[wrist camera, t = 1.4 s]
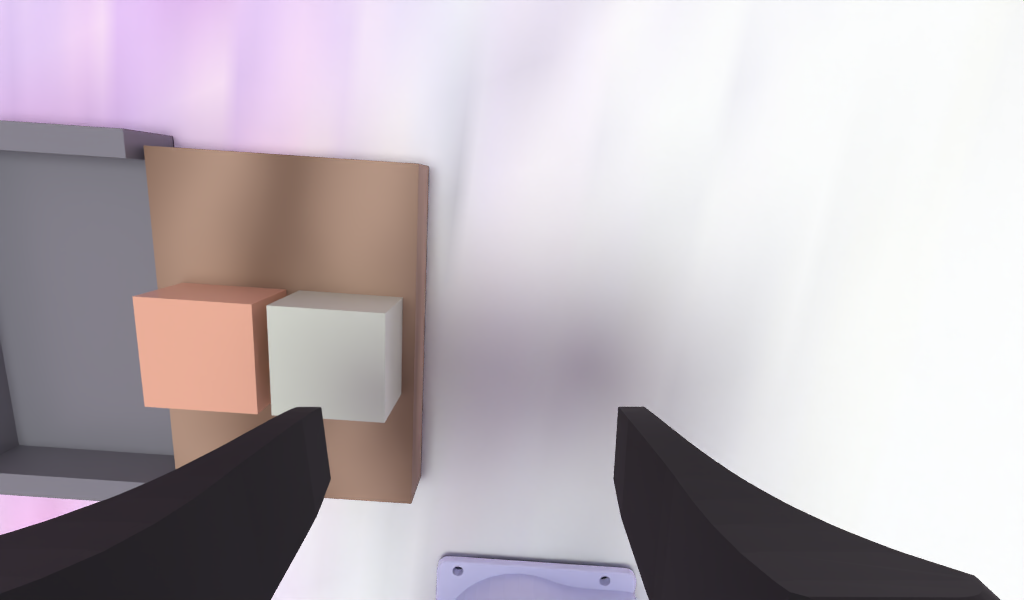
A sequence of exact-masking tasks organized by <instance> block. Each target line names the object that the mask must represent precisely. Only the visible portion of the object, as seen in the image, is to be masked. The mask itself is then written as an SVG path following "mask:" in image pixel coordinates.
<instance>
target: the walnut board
mask: <svg viewBox="0 0 1024 600" xmlns="http://www.w3.org/2000/svg"><path fill="white" fill-rule="evenodd" d="M143 146H144V156H145V166H146V176H147V186H148V196H149V206H150V216H151V226H152V237H153V247H154V257H155V267H156V277H157V287H158V289H161V288H165V287H168V286H172V285H176V284H179V283H197V284H212V285H227V286H242V287H257V288H272V289H286V293H287V296H288V295H290V294H292V293H295V292H297V291H299V290H301V291H316V292H331V293H346V294H361V295H376V296H391V297H403V321H402V385H401V395H400V397H399V399H398V401H397V402H396V404H395V406H394V407H393V409H392V411H391V413H390V414H389V416H388V418H387V420H386V421H385V423H380V422H365V421H350V420H335V419H323V423H324V430H325V438H326V445H327V453H328V460H329V468H330V475H331V480H330V483H329V486H328V488H327V491H326V494H325V496H324V498H334V499H349V500H364V501H379V502H394V503H409V504H411V503H412V500H413V497H414V494H415V492H416V489H417V486H418V483H419V480H420V477H421V443H422V405H423V367H424V329H425V291H426V253H427V215H428V177H429V166H425V165H421V164H413V163H398V162H384V161H369V160H354V159H339V158H324V157H309V156H294V155H279V154H264V153H249V152H234V151H219V150H205V149H190V148H175V147H160V146H145V145H143ZM274 417H276V416H275V415H272V412H271V403H270V404H269V405H268V406H267V407H266V408H264V409H263V410H262V411H261V412H260V413H259V414H245V413H230V412H216V411H201V410H186V409H171V408H170V419H171V429H172V439H173V449H174V459H175V469H178V468H179V467H181V466H183V465H185V464H187V463H189V462H191V461H193V460H195V459H197V458H199V457H201V456H203V455H205V454H207V453H209V452H211V451H213V450H215V449H217V448H219V447H221V446H223V445H224V444H226V443H228V442H230V441H232V440H234V439H235V438H237V437H239V436H241V435H243V434H244V433H246V432H248V431H250V430H252V429H254V428H255V427H257V426H259V425H261V424H263V423H265V422H266V421H268V420H270V419H272V418H274Z"/></svg>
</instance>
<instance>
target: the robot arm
mask: <svg viewBox="0 0 1024 600" xmlns="http://www.w3.org/2000/svg"><path fill="white" fill-rule="evenodd" d="M330 480H331V475H330V468H329V460H328V453H327V445H326V438H325V430H324V423H323V416H322V408H321V407H295V408H293V409H290V410H288V411H286V412H284V413H282V414H280V415H278V416H276V417H274V418H272V419H270V420H268V421H266V422H265V423H263V424H261V425H259V426H257V427H255V428H254V429H252V430H250V431H248V432H246V433H244V434H243V435H241V436H239V437H237V438H235V439H234V440H232V441H230V442H228V443H226V444H224V445H223V446H221V447H219V448H217V449H215V450H213V451H211V452H209V453H207V454H205V455H203V456H201V457H199V458H197V459H195V460H193V461H191V462H189V463H187V464H185V465H183V466H181V467H179V468H178V469H175V470H173V471H171V472H169V473H167V474H165V475H163V476H161V477H158V478H156V479H154V480H152V481H149V482H147V483H145V484H142V485H140V486H138V487H135V488H133V489H131V490H128V491H126V492H123V493H121V494H119V495H116V496H114V497H111V498H109V499H106V500H103V501H100V502H98V503H95V504H92V505H89V506H86V507H84V508H81V509H78V510H75V511H73V512H70V513H67V514H64V515H62V516H59V517H56V518H53V519H50V520H47V521H44V522H41V523H38V524H35V525H32V526H29V527H26V528H22V529H19V530H16V531H13V532H10V533H6V534H3V535H0V600H271V598H272V597H273V595H274V593H275V591H276V589H277V588H278V586H279V584H280V582H281V580H282V579H283V577H284V575H285V573H286V571H287V570H288V568H289V566H290V564H291V562H292V561H293V559H294V557H295V555H296V553H297V552H298V550H299V548H300V546H301V544H302V543H303V541H304V539H305V537H306V535H307V533H308V532H309V530H310V528H311V526H312V524H313V522H314V520H315V518H316V516H317V514H318V512H319V509H320V507H321V504H322V502H323V499H324V496H325V494H326V491H327V488H328V486H329V483H330ZM614 484H615V489H616V494H617V500H618V504H619V509H620V514H621V518H622V521H623V524H624V527H625V530H626V533H627V536H628V539H629V542H630V545H631V548H632V551H633V554H634V557H635V560H636V563H637V566H638V569H639V572H640V575H641V578H642V581H643V584H644V587H645V590H646V592H647V595H648V598H649V600H1000V599H999V598H998V597H997V596H996V595H995V594H994V593H993V592H992V591H990V590H989V589H988V588H987V587H986V586H985V585H984V584H983V583H982V582H981V581H980V580H979V579H978V578H976V577H975V576H974V575H970V574H967V573H964V572H961V571H958V570H955V569H952V568H949V567H946V566H943V565H939V564H936V563H933V562H930V561H927V560H924V559H921V558H918V557H915V556H912V555H908V554H905V553H902V552H899V551H897V550H894V549H891V548H888V547H886V546H883V545H881V544H878V543H875V542H873V541H870V540H868V539H865V538H862V537H860V536H857V535H855V534H852V533H850V532H847V531H845V530H843V529H840V528H838V527H836V526H833V525H831V524H829V523H826V522H824V521H822V520H820V519H818V518H816V517H813V516H811V515H809V514H807V513H805V512H803V511H801V510H799V509H796V508H794V507H792V506H790V505H788V504H787V503H785V502H783V501H781V500H779V499H777V498H775V497H773V496H771V495H770V494H768V493H766V492H764V491H763V490H761V489H759V488H757V487H756V486H754V485H752V484H750V483H748V482H747V481H745V480H744V479H742V478H740V477H739V476H737V475H735V474H734V473H732V472H731V471H729V470H728V469H726V468H725V467H723V466H722V465H720V464H719V463H717V462H716V461H715V460H713V459H712V458H710V457H709V456H707V455H706V454H705V453H703V452H702V451H700V450H699V449H698V448H696V447H695V446H694V445H692V444H691V443H690V442H688V441H687V440H686V439H685V438H683V437H682V436H681V435H679V434H678V433H677V432H676V431H674V430H673V429H672V428H671V427H669V426H668V425H667V424H666V423H664V422H663V421H662V420H661V419H659V418H658V417H657V416H655V415H654V414H653V413H652V412H650V411H649V410H648V409H646V408H645V407H618V419H617V435H616V450H615V466H614ZM457 566H458V567H461V568H462V569H460V570H458V569H456V568H455V567H457ZM604 576H606V577H608V578H606V579H600V578H602V577H604ZM635 587H636V578H635V574H634V573H633V571H632V570H630V569H628V568H619V567H604V566H589V565H574V564H559V563H544V562H529V561H514V560H500V559H485V558H470V557H455V556H445V557H443V558H441V559H440V560H439V563H438V567H437V585H436V600H636V597H635Z"/></svg>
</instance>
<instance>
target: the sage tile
mask: <svg viewBox="0 0 1024 600" xmlns="http://www.w3.org/2000/svg"><path fill="white" fill-rule="evenodd" d="M266 308H267V329H268V350H269V370H270V391H271V412H272V415H275V416H278V415H280V414H282V413H284V412H286V411H288V410H290V409H293V408H295V407H321V408H322V416H323V419H335V420H350V421H365V422H380V423H385V421H386V420H387V418H388V416H389V414H390V413H391V411H392V409H393V407H394V406H395V404H396V402H397V401H398V399H399V397H400V395H401V385H402V321H403V297H391V296H376V295H361V294H346V293H331V292H316V291H301V290H299V291H297V292H295V293H292V294H290V295H288V296H286V297H284V298H282V299H279V300H277V301H275V302H273V303H271V304H268V305H266Z"/></svg>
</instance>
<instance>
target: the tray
mask: <svg viewBox="0 0 1024 600" xmlns="http://www.w3.org/2000/svg"><path fill="white" fill-rule="evenodd" d="M143 145H145V146H160V147H173V137H172V136H167V135H161V134H154V133H148V132H141V131H135V130H128V129H120V128H105V127H90V126H75V125H61V124H46V123H31V122H16V121H1V120H0V494H3V495H18V496H33V497H48V498H63V499H78V500H93V501H103V500H106V499H109V498H111V497H114V496H116V495H119V494H121V493H123V492H126V491H128V490H131V489H133V488H135V487H138V486H140V485H142V484H145V483H147V482H149V481H152V480H154V479H156V478H158V477H161V476H163V475H165V474H167V473H169V472H171V471H173V470H175V459H174V449H173V439H172V429H171V419H170V408H156V407H145V405H144V396H143V387H142V378H141V369H140V360H139V351H138V342H137V333H136V324H135V315H134V306H133V297H132V296H136V295H140V294H143V293H147V292H150V291H154V290H158V287H157V277H156V267H155V257H154V247H153V237H152V226H151V216H150V206H149V196H148V186H147V176H146V166H145V156H144V146H143Z"/></svg>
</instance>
